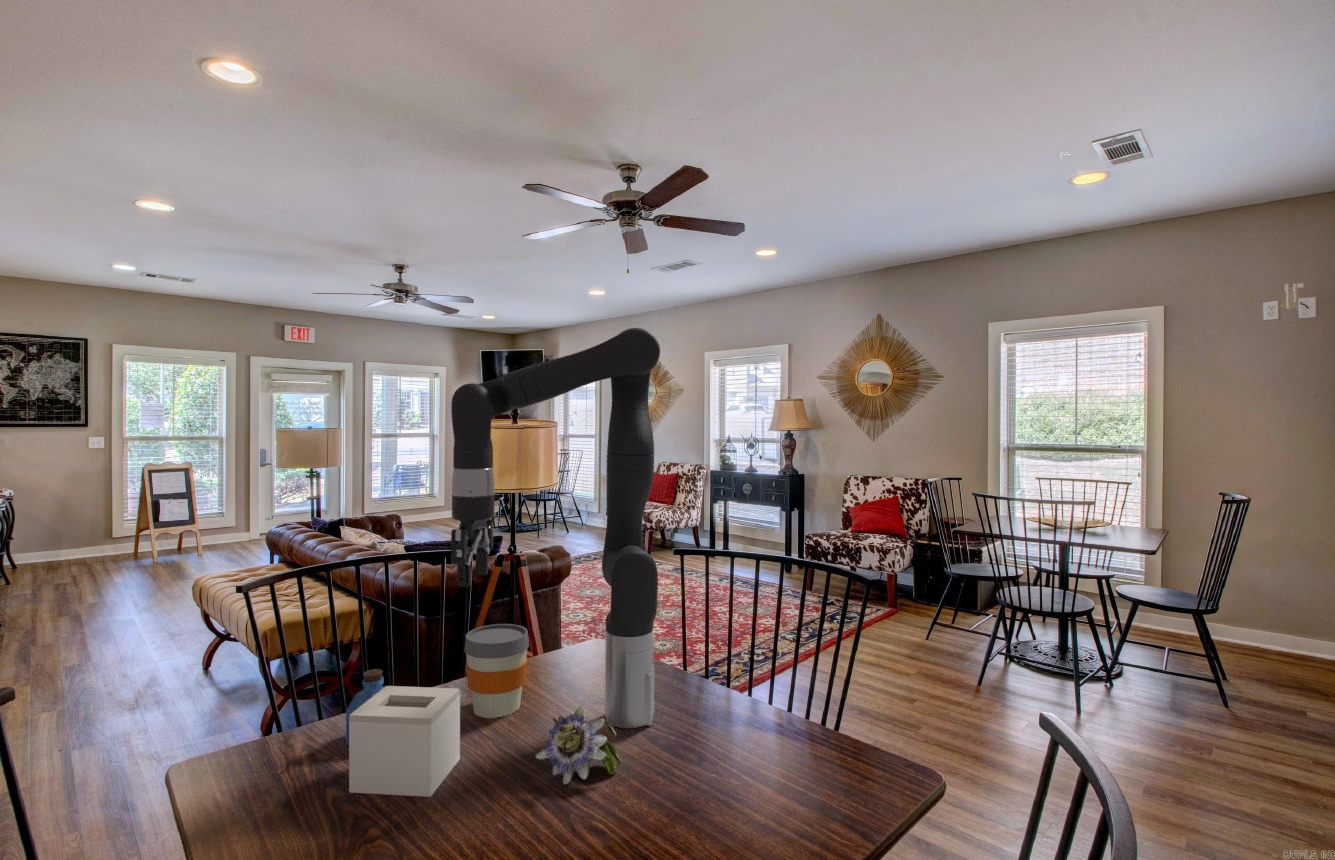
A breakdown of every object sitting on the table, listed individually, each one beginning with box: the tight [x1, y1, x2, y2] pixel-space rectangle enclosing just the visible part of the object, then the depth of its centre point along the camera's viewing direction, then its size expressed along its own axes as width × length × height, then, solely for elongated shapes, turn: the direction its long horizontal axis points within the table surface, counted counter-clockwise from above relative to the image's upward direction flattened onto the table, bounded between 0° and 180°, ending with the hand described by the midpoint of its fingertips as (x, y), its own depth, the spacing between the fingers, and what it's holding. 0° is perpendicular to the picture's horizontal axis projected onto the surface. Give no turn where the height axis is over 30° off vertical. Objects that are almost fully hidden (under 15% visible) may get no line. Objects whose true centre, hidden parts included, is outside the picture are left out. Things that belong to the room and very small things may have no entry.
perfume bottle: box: [345, 668, 385, 746], centre depth 115 cm, size 6×6×12 cm
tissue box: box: [348, 685, 461, 798], centre depth 103 cm, size 13×11×12 cm
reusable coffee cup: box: [464, 623, 530, 719], centre depth 127 cm, size 13×13×15 cm
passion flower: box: [535, 705, 621, 786], centre depth 105 cm, size 11×11×12 cm
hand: (473, 580), depth 117 cm, fingers open, 8 cm apart
